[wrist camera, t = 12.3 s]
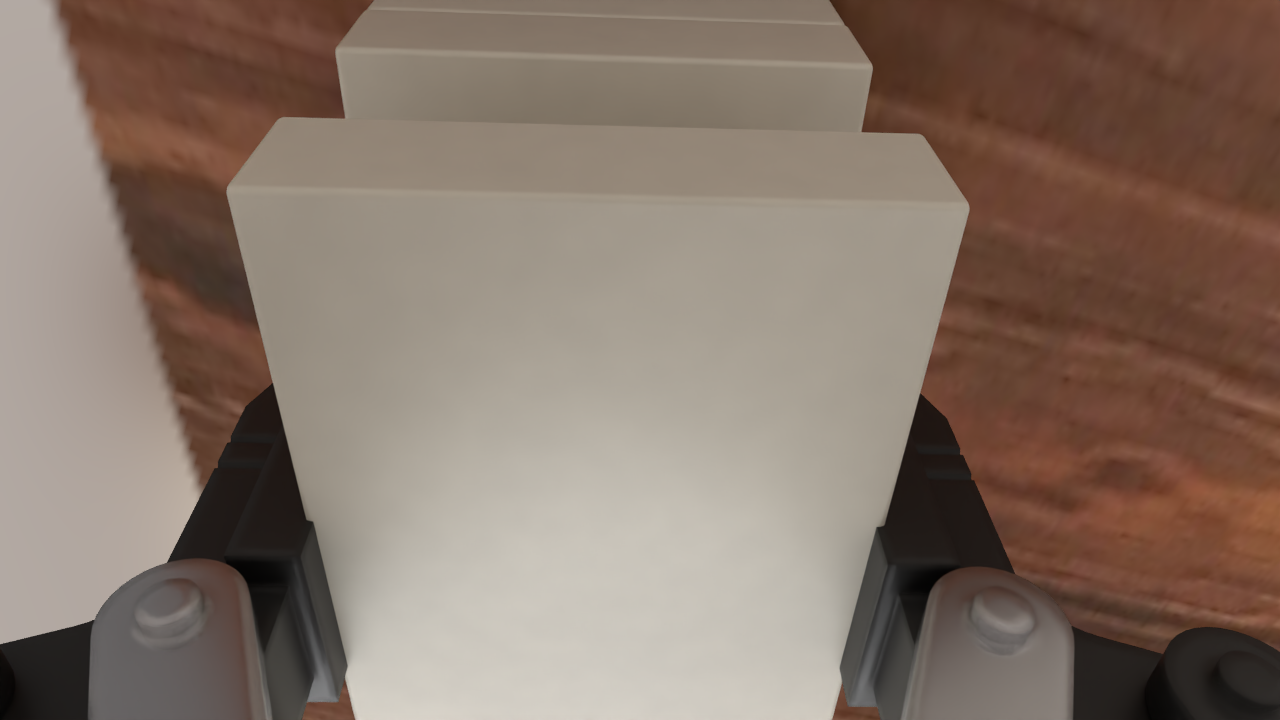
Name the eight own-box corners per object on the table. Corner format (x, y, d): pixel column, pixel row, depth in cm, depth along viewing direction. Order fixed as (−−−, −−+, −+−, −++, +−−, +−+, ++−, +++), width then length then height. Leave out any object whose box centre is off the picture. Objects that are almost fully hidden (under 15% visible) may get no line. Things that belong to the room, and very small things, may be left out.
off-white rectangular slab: (278, 114, 8) (221, 187, 7) (923, 130, 8) (974, 206, 7) (400, 730, 13) (380, 828, 12) (789, 730, 13) (805, 828, 12)
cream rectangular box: (750, 502, 17) (770, 627, 15) (448, 497, 17) (421, 624, 15) (827, -10, 12) (875, 63, 10) (388, -25, 12) (332, 47, 9)
